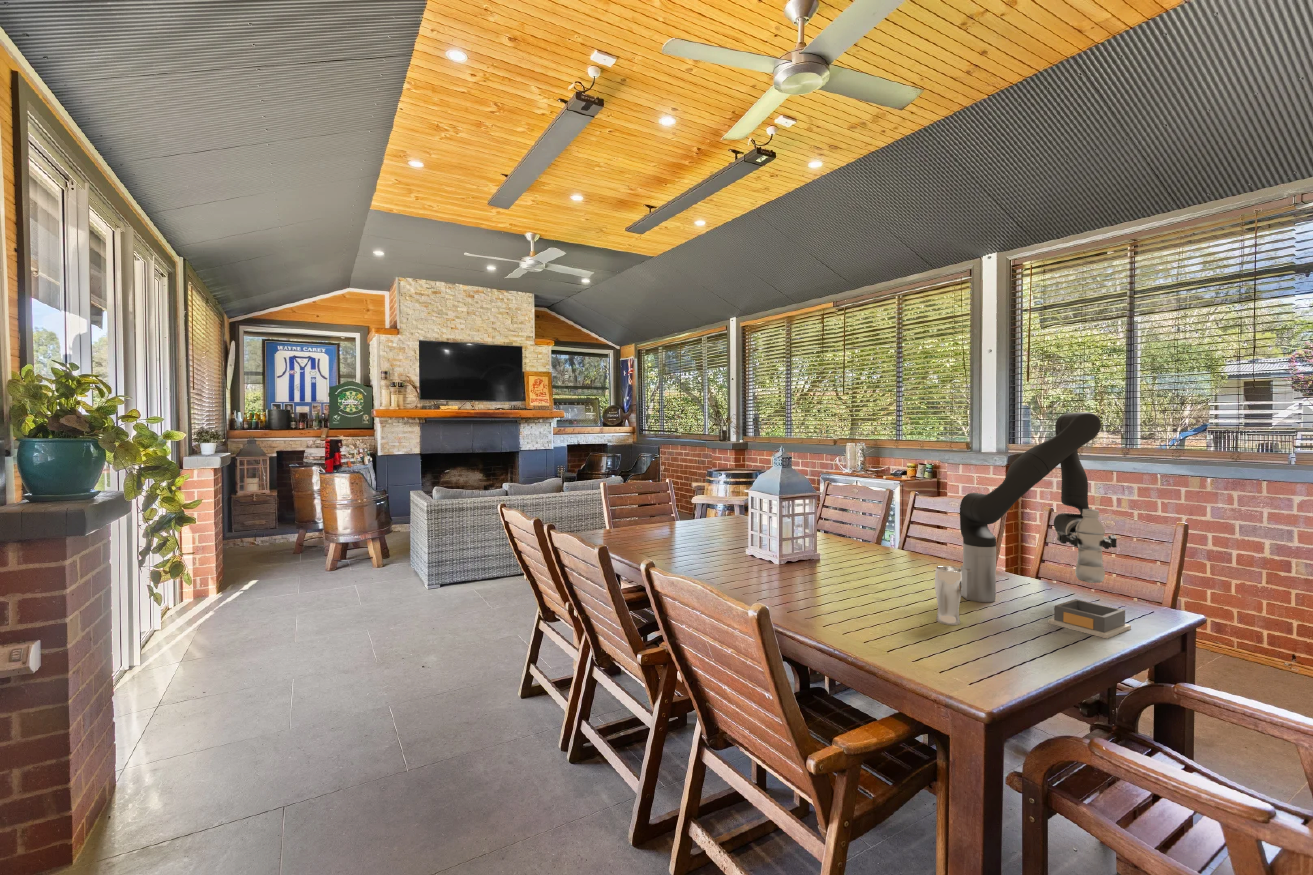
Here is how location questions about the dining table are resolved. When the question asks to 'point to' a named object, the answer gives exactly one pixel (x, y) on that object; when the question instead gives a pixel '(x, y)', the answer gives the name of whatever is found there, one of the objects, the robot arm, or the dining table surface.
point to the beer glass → (948, 594)
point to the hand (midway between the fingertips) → (1091, 544)
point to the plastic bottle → (1090, 547)
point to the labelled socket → (1090, 618)
